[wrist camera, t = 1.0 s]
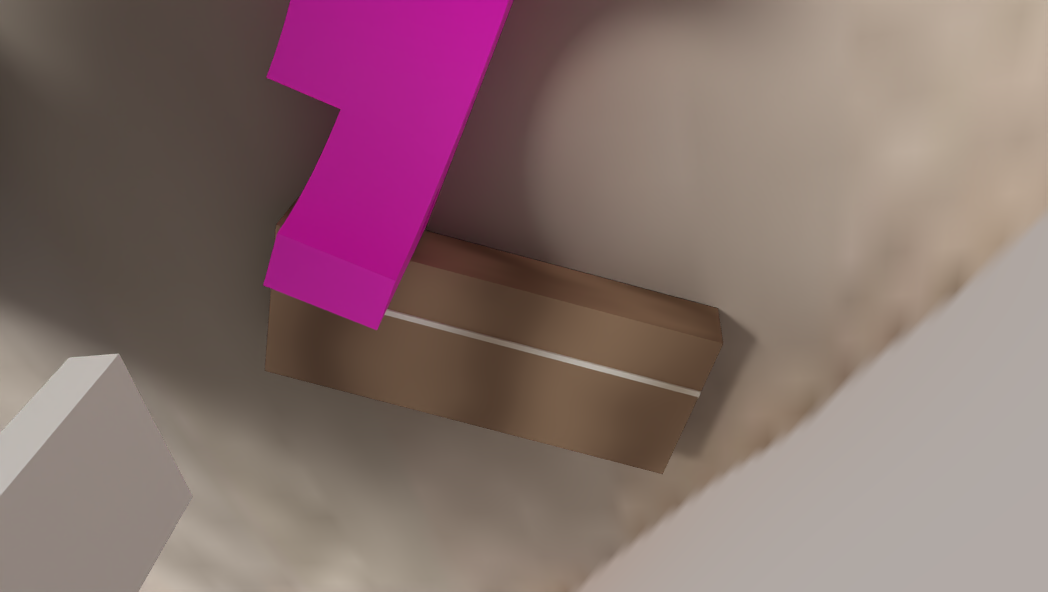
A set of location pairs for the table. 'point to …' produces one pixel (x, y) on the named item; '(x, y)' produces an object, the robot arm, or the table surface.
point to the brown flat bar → (514, 351)
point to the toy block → (375, 138)
